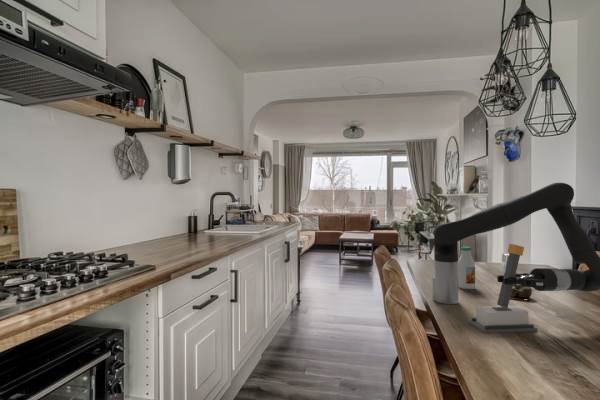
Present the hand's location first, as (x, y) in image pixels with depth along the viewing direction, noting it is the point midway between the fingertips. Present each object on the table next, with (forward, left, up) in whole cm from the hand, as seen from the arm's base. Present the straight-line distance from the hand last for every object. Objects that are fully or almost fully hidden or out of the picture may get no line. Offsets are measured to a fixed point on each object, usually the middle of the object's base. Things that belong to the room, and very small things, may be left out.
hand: (501, 279), depth 115 cm
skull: (-14, +43, -16) cm, 48 cm away
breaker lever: (0, 0, -10) cm, 10 cm away
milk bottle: (-36, +41, -16) cm, 57 cm away
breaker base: (0, 0, -16) cm, 16 cm away
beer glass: (-28, +67, -16) cm, 74 cm away
